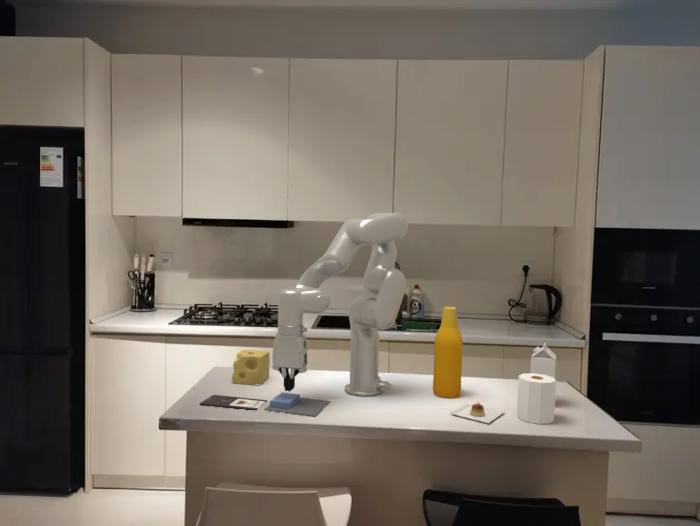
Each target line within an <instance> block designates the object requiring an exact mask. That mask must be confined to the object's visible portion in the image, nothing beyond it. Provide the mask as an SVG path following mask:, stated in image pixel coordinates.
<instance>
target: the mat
mask: <svg viewBox="0 0 700 526" xmlns="http://www.w3.org/2000/svg"><path fill="white" fill-rule="evenodd" d="M328 403H329V404H330V403H331V401H330V400H326V399H319V398H318V399H316V398H309V397H301V396H300V400H299V401H298V402H297V403H296V404H294V405H293V406H292V407H291V408H290V409H284V408H276V407H270V404H269V405H268V406H266V407H265V408H264V409H263V411H264V410H268V411H267V412H272V411H276V412H275V413H280V412H285V413H284V414H288V413H292V414H291V415H296V414H299V415H298V416H304V415H306V417H312V416H313V418H316V417H317V416H318V415H319V414H320V413H321V412H322V411H323V410H324V409H325V408H326V407H327V406H328V405H329V404H328ZM327 404H328V405H327ZM326 405H327V406H326ZM325 406H326V407H325ZM324 407H325V408H324ZM323 408H324V409H323Z"/></svg>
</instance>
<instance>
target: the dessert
mask: <svg viewBox="0 0 700 526" xmlns="http://www.w3.org/2000/svg"><path fill="white" fill-rule="evenodd" d="M469 408H470V412H469V415H470V416H471V417H468V416H464V415H460V413H462V412H463V411H465V410H466V409H469ZM459 412H460V413H459ZM485 412H487V413H488V412H489V413H493V414H497V415H496V416H494V417H492V418H491V419H489V420H488V421H484V420H481V419H476V418H484V417H486V413H485ZM458 413H459V414H458ZM504 413H505V411H501V410H497V409H493V408H489V407H484V405H482V403H481V401H479V400H476V402H475V403H474V404H472V403H466V404H464V405H462V406H461V407H458V408H457V409H456V410H453V411H452V412H450V415H452V416H456V417H459V418H464V419H467V420H471V421H474V422H479V423H484V424H490V423H491V422H493V421H494V420H495V419H497V418H498V417H500V416H501V415H503V414H504ZM472 417H476V418H472Z"/></svg>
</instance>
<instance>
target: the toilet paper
mask: <svg viewBox="0 0 700 526" xmlns="http://www.w3.org/2000/svg"><path fill="white" fill-rule="evenodd" d="M517 385H518V386H517V405H516V415H517V418H518V419H519V420H522V421H524V422H527V423H532V424H537V425H543V424H544V425H545V424H548V425H549V424H551V423H553V422H555V410H556V409H555V408H556V392H557V391H556V389H557V387H556V386H557V379H556V378H555V379H554V378H553V377H550V376H547V375H542V374H535V373H525V372H524V373H521V374H519V375H518V383H517Z"/></svg>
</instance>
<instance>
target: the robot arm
mask: <svg viewBox="0 0 700 526" xmlns="http://www.w3.org/2000/svg"><path fill="white" fill-rule="evenodd" d="M408 228H409V223H408V221H407V218H406V217H405V216H404V215H403V214H401V213H399V212H375V213H372V214H370V215H368V216H367V217H366V218H352V219H351V218H350V219H348V220H346V221H345V222H344V223H343V224H342V225H341V227H340V228H339V230H338V232H337V233H336V235H335V236H334V238H333V240H332V241H331V243H330V245H329V246H328V248H327V249H326V251H325V253H324V254H323V255H322V256H321V257H320V258H319V259H317V260H316V261H315V262H314V263H313V264H312V265H310V266H309V267H308V268H307V269H306V270H305V271H304V273H303V274H302V275H301V277H299V278H300V279H299V280H298V281H297V283H296V285H294V288H285V289H280V290H279V292H278V300H277V301H278V303H277V305H278V306H277V333H276V334H275V337H274V341H273V347H272V357H271V360H272V370H275V371H278V372H279V373H280V375H281V377H282V378H283V388H284V392H291V391H293V390H294V389H295V386H296V384H295V383H296V376H298V374H302V373H303V374H304V373H305V372H307V371H308V368H307V365H308V364H309V363H308V362H309V356H308V341H307V337H306V334H304V333H307V332H308V327H305V326H304V313H305V314H306V313H308V314H309V313H310V314H321V313H323V312H326V311H327V310H328V308H330V304H331V299H330V295H329V293H328V292H326V291H325V290H323V289H321V288H320V287H321V285H322V284H323V283H324V282H326V281H327V280H328V279H330V278H332V277H334V276H336V275H338V274H341V273H343V272H344V271H346V270H347V269H348V268H349V266H350V264H351V263H352V262H353V259H354V258H355V256H356V254H358V251H359V250H360V248H361V247H363V246H365V247H371V254H370V257H369V260H368V264H367V265H366V270H365V272H364V275H363V278H362V287H363V289H364V290H365V291H366V292H367V293H368V294H372V295H376V298H375V297H370V296H363V295H362V296H359V297H355V298H354V299H353V300H352V301H351V303H350V305H349V308H348V320H349V324H350V325H349V326H350V357H349V383H347V384H346V385H345V386H344V391H345V392H346V393H347V394H350V395H354V396H358V397H359V396H360V397H371V396H377V395H380V394H381V393H383V389H385V390H390V389H391V386H392V385H391V383H390V382H389V381H387V380H385V381H384V380H381V376H379V367H380V365H379V361H380V360H379V359H380V333H379V330H381V331H385V330H388V329H390V328H391V327H392V326H393V325H394V324H395V321H396V319H397V317H398V313H399V311H400V307H401V304H402V301H403V298H404V295H405V292H406V287H407V286H406V285H407V283H406V282H407V281H406V276H405V275H404V273H403V272H402V271H401V270H399V269H398V268H395V263H396V260H397V256H398V255H397V252H398V251H397V246H396V243H395V241H396V240H400V239H401V238H403V237H404V236H405V235H406V233H407V231H408Z"/></svg>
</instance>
